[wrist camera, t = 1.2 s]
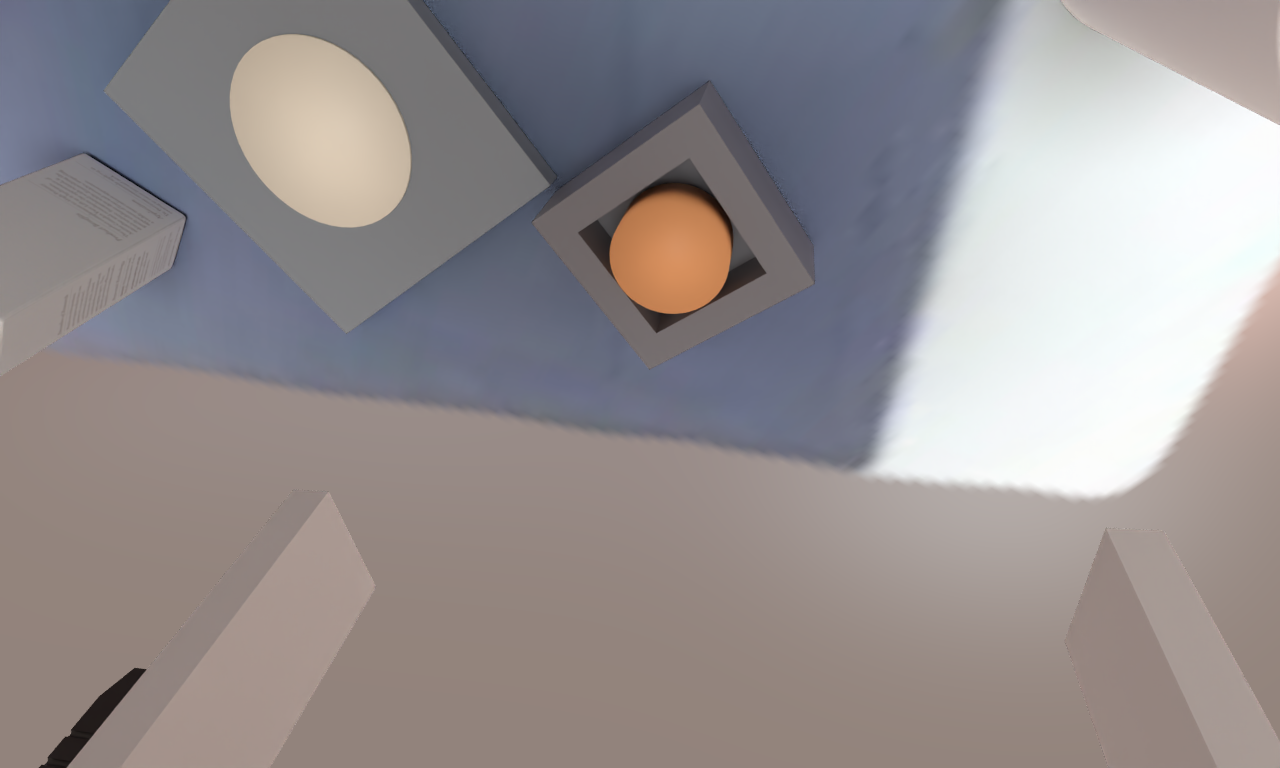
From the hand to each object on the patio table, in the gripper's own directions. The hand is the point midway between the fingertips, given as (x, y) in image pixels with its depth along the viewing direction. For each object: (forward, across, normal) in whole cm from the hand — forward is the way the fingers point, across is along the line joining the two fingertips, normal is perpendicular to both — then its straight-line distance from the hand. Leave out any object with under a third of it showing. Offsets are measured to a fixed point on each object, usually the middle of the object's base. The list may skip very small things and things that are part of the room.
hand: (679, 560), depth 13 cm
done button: (+22, -3, -3) cm, 22 cm away
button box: (+24, -3, -3) cm, 24 cm away
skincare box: (+24, -34, -2) cm, 42 cm away
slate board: (+24, -20, +2) cm, 31 cm away
